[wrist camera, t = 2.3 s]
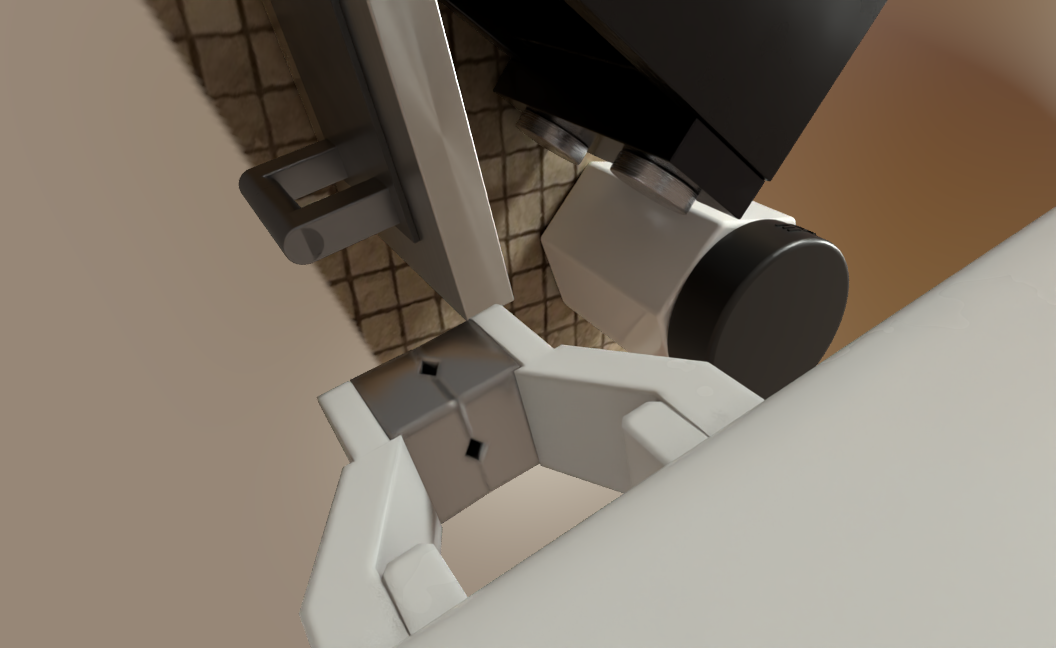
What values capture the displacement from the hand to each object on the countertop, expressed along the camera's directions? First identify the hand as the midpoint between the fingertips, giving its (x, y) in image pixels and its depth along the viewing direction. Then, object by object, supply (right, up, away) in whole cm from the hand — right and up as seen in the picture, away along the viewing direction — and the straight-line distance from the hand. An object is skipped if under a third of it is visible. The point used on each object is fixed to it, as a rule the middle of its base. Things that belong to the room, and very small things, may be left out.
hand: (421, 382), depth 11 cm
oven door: (-8, +10, +15) cm, 19 cm away
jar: (+6, +6, +27) cm, 28 cm away
